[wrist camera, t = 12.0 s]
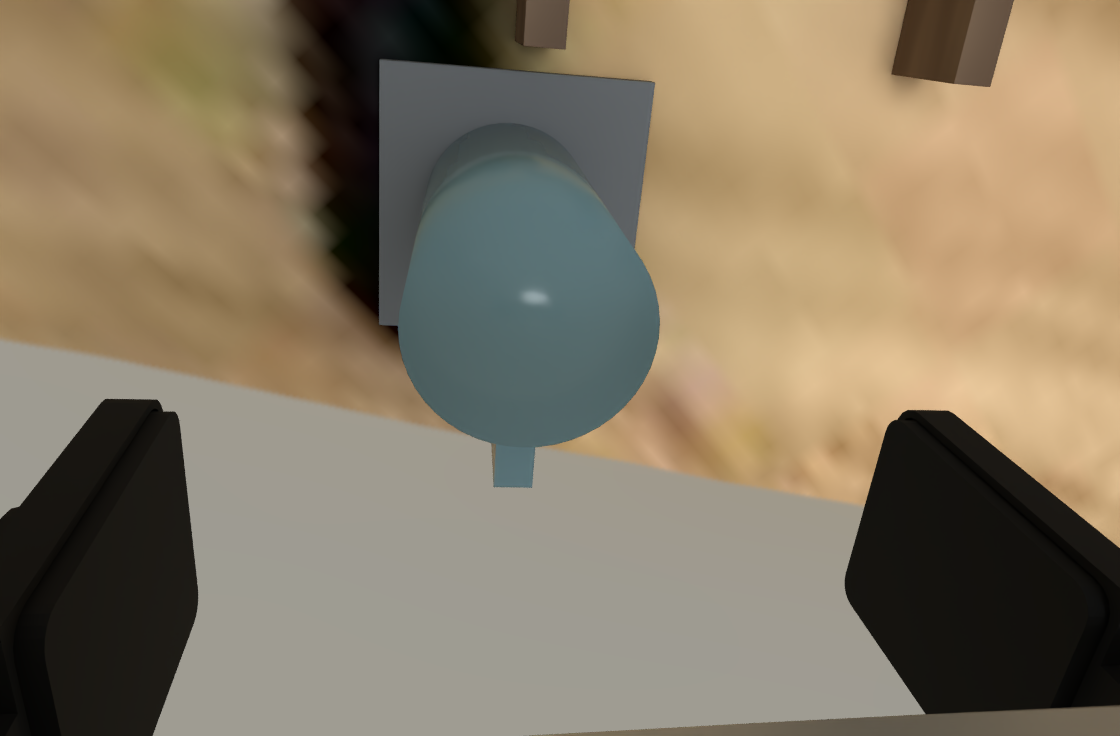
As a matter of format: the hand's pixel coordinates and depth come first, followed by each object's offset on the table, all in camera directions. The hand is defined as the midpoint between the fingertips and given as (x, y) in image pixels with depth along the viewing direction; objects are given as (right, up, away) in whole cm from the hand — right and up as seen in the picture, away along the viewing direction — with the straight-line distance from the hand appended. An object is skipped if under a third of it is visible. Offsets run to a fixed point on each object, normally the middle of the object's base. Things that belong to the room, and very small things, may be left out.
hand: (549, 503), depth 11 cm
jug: (-2, +6, +18) cm, 19 cm away
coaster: (-2, +7, +18) cm, 20 cm away
